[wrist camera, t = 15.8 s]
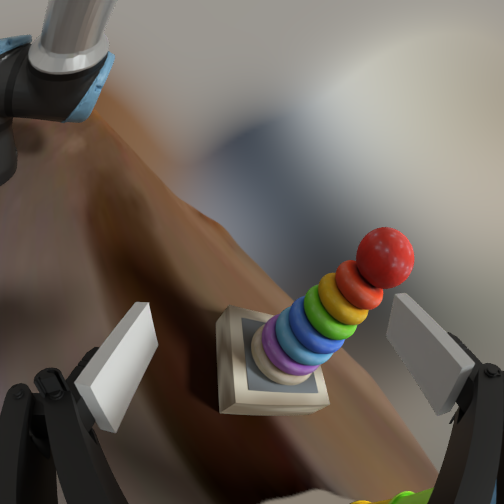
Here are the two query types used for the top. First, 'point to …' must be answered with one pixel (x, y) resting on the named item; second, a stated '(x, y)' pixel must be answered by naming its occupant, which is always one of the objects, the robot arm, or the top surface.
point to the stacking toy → (331, 309)
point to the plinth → (257, 373)
